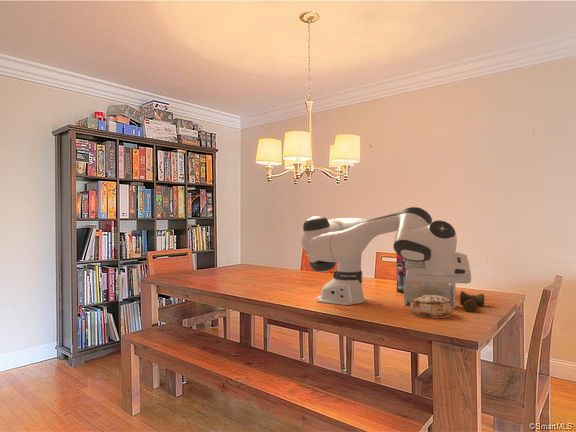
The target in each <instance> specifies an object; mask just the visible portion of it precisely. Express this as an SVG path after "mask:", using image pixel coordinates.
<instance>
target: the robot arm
mask: <svg viewBox="0 0 576 432" xmlns="http://www.w3.org/2000/svg"><path fill="white" fill-rule="evenodd" d="M302 226H303V227H302V229H303V230H302V231H303V235H302V237H301V241H300V242H301V246H302V248H303V249H304V250H305V251H306V252H307V257H308V260H309V262H308V263H309V265H310V267H311V269H312V270H313V271H314V272H319V273H324V272H328V271H330V270H333V269H334V268H335V266H336V265H337V266H336V268H337V269H334V271H333V272H332V279H331V280H329V281H328V282H326V283H325V284H324V285H323V286H322V289H321V293H320V294H319V295H318V296H317V297H316V302H317V301H318V303H325V304H334V305H343V306H350V305H357V304H361V303H364V302H366V299H365V296H364V290H363V271H362V254H363V252H364V251H365V249H366V248H367V246H368V245H369V244H370V243H371V242H372V241H373V240H374V239H375V238H376V237H378V236H379V235H383V234H387V233H393V232H396V233H395V238H394V242H393V250H394V252H395V253H396V255H397V254H398V255H399V256H400V257H402V258H403V259H405V260H408V261H410V262H406V263H405V268H406V280H408V281H413V282H420V283H421V284H422V285H423V288H427V286H428V284H427V282H438V283H446V284H445V285H446V289H451V286H452V285H454V284H455V285H456V284H466V285H467V284H470V283H471V282H472V273H471V268H470V267H471V266H470V263H469V259H468V255H467V254H465V253H461V252H456V251H457V242H458V240H457V231H456V230H455V227H454V226H452V224H450V223H449V222H447V221H445V220H438V219H437V220H434V221H433V218H432V216H431V215H430V213H429V212H428V211H427V210H425V209H423V208H422V207H418V206H417V207H416V206H410V207H406V208H405V209H402V210H400V211H398V212H395V213H392V214H386V215H383V216H379V217H374V218H370V219H368V218H363V217H336V218H330V219H328V218H326V217H325V216H320V215H314V216H311V217H309V218H308V219H306V220H305V221H304V222H303V225H302Z"/></svg>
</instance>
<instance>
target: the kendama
mask: <svg viewBox="0 0 576 432" xmlns="http://www.w3.org/2000/svg"><path fill="white" fill-rule="evenodd" d="M459 304H460V305H461V306H463V307H462V308H463V310H464V311H466V312H467V313H475V312H476V311H477V310H478V306H480V307H481V306H482V307H484V306H485V294H484V293H480V294H476V295H471V294H469V293H466V292H464V291H462V290H461V291H460V293H459Z"/></svg>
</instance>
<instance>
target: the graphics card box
mask: <svg viewBox="0 0 576 432" xmlns="http://www.w3.org/2000/svg"><path fill="white" fill-rule="evenodd" d="M406 262H410V261H408V260H405V259H403V258H402V257H400V256H399V255H398V254H397V253H396V292H397V293H401V294H404V276H406V268H405V263H406Z"/></svg>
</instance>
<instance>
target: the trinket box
mask: <svg viewBox="0 0 576 432" xmlns="http://www.w3.org/2000/svg"><path fill="white" fill-rule="evenodd" d="M409 307H410V311H411V314H412V315H413V316H415V317H418V318H419V317H420V318H427V319H428V318H430V319H434V318H435V319H440V318H441V319H442V318H450V317H451V316H452V313H453V311H454V308H453V305H452V303H451V301H450V300H449V299H447V298H445V297H442V296H438V295H422V296H418V297H416V298H414V299H412V301H411V304H409Z"/></svg>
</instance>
